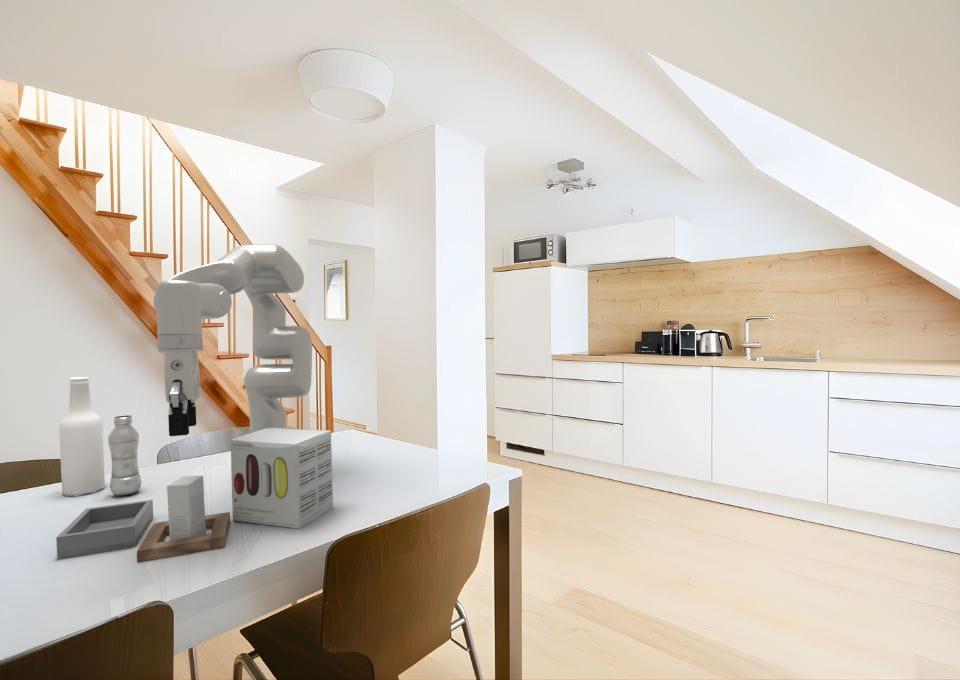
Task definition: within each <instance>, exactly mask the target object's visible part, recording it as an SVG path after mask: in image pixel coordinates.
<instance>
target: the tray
mask: <svg viewBox="0 0 960 680" xmlns="http://www.w3.org/2000/svg"><path fill="white" fill-rule="evenodd" d="M152 518H153V519H154V502H153V499H149V500H140V501H133V502H126V503H120V504H119V503H118V504H111V505H103V506H96V507H95V506H94V507H87V508H85V509H84V510H83V511H82V512H81V513H80V514H79V515H78V516H77V517H76V518H75V519H74V520H73V521H72V522H71V523H70V524H69V525H68V526H67V527H66V528H64V530H62V532H60V533H59V534H58V535H57V536H56V556H57V560H60V559H66V558H73V557H77V556H79V557H80V556H84V555H92V554H96V553H97V554H98V553H103V552H109V550H110V551H115V549H116V550H121V549H128V547H129V548H134V547H133V546H135V547H137V544H138V543H139V542H140V540H139V539H141V538H142V536H143V535H144V533H145V532H146V530H147V528H148V527H147V526H149V525H150V524H149V523H151V522H152V520H153V519H152ZM151 519H152V520H151ZM150 521H151V522H150ZM144 531H145V532H144ZM137 542H138V543H137Z"/></svg>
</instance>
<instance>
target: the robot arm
mask: <svg viewBox="0 0 960 680" xmlns="http://www.w3.org/2000/svg"><path fill="white" fill-rule="evenodd" d="M304 284H305V275H304V271H303V269H302V267H301V265H300V264H299V262H298V261H296V259H295V258H294V257H293V256H292V255H291V254H290V252H289V251H287V249H285V248H284V247H282V246H280V245H279V244H275V243H266V244H265V243H264V244H258V243H257V244H242V245H241V244H240V245H238V246H236V247H234V248H232V249H231V250H230V251H228V252H227V253H226V254H224V255H222V257H220V258H218V260H216V261H213V262H210V263H207V264H204V265H200V266H197V267H193V268H190V269H188V270H187V269H186V270H184V271H181V272H180V273H179V272H178V273H176V274H173V276H171V277H169V278H167V279H166V280H161V281H159V282H158V283H157V284H156V287H155V293H154V295H153V307H154V309H155V311H156V333H157V352H158V353H164V362H163V363H164V390H165V391H164V392H165V400H166V402H167V403H169V405H168V416H167V419H168V436H169V437H178V436H179V437H180V436H188V435H189V434H190V427H196V426H197V406H196V401H197V400H199V398H201V397H202V388H201V375H200V373H201V372H200V363H199V362H200V361H199V354H198V353H199V352H201V351H203V350H204V349H203V346H204V345H203V321H202V320H214V319H219V318H222V317H224V316H226V315H227V314H228V313H229V312H230V310H231V307H232V303H233V300H232V295H235V294H237V293H240V292H242V291H244V292H245V294H246V297H247V298H248V299H249V302H250V304H251V306H252V310H253V320H252V321H253V324H252V325H253V326H252V327H253V328H252V352H253V355H254V356H255V357H256V358H258V359H260V360H268V361H269V360H271V361H272V360H273V361H275V360H292V363H283V364H282V363H270V364H268V363H266V364H257V365H255V366H254V365H253V366H252V367H250V368H249V369H248V370H247V371H246V373H245V375H244V388H245V392H246V396H247V401H248V409H249V434H250V433H253V432H256V431H260V430H263V429H267V428H286V429H288V427H287V426H288V425H287V421H288V420H287V412H286V409H285V407H284V405H283V404H282V403H281V401H280V400H279V399H285V398H289V399H292V398H295V399H296V398H303V397H305V396H308V394H309V393H310V391H311V387H312V374H313V373H312V372H313V371H312V368H313V366H312V365H313V341H312V336H311V332H310V331H309V330H308V328H306V327H305V326H300V325H286V321H287V320H286V318H287V317H286V315H287V311H286V308H285V306H284V305H283V303H282V302H281V300H279V298H278V297H277V296H276V295H275V294H295V293H298V292H299V291H301V290H302V288H303V286H304Z"/></svg>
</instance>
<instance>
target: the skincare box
mask: <svg viewBox="0 0 960 680" xmlns="http://www.w3.org/2000/svg"><path fill="white" fill-rule="evenodd" d="M166 492H167V493H166V495H167V512H168V513H167V515H168V521H169V535H168V536H169V541H172V540H178V539H184V538H191V537H197V536H203V535H205V533H206V532H207V529H206V525H205V516H206V509H205V506H206V505H205V486H204V476H203V475H187V476H181V477H179V478H177V479H176V480H174V481H173V482H172V483H170V484H168V485H167V486H166Z"/></svg>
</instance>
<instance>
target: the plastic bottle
mask: <svg viewBox="0 0 960 680" xmlns="http://www.w3.org/2000/svg"><path fill="white" fill-rule="evenodd" d="M113 417H114V418H113V425H114V427H113V429H112V430H111V431H110V433H109V435H108V436H107V437H108V438H107V442H108V443H107V444H108V446H109V451H110V457H111V475H110V476H111V478H110V483H109V489H110V492H111V494H113V496H128V495H132V494H134V493H137V492H139V491H140V489H141V487H142V477H141V475H140V470H139V464H138V463H139V462H138V449H139V438H140V434H139V432H138V430H136V429H135V427H134V426H132V423H133V420H132V419H133V418H132V415H117V416H113Z"/></svg>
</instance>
